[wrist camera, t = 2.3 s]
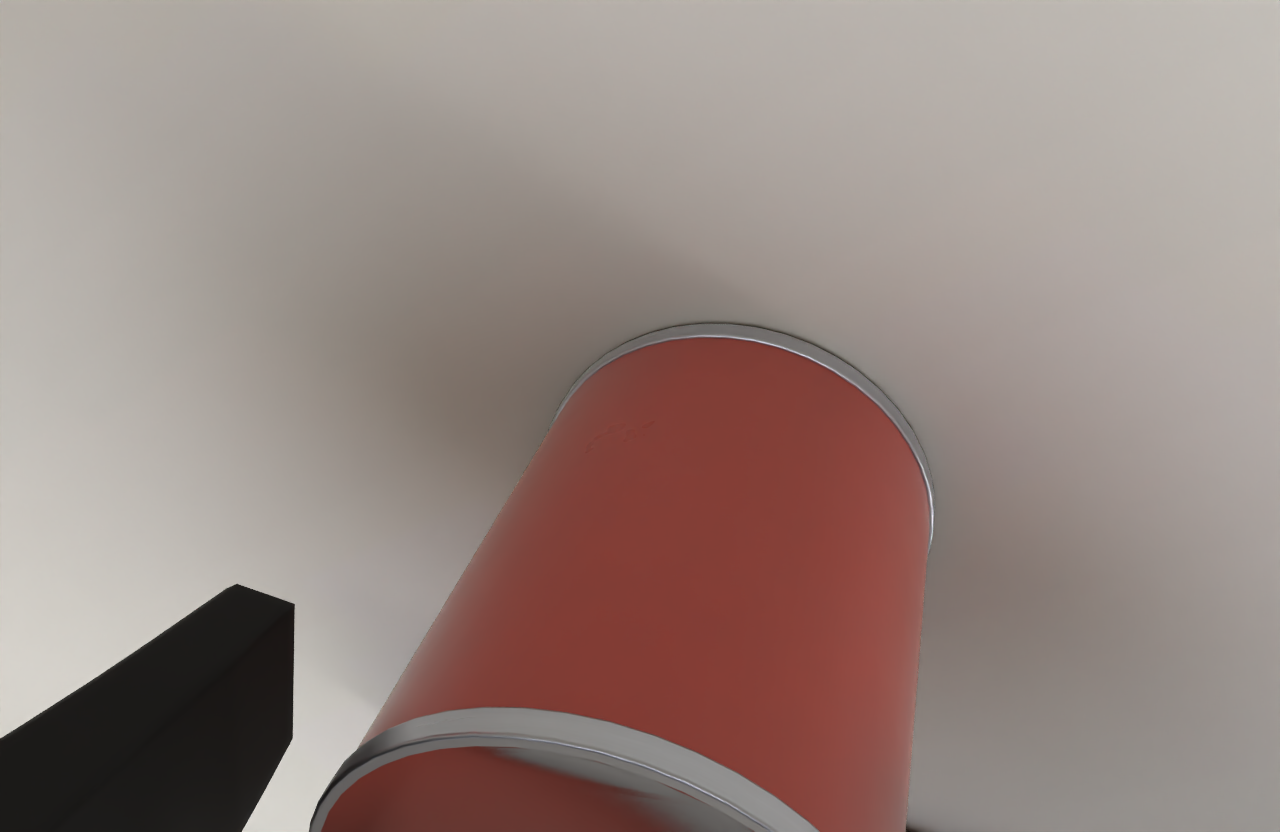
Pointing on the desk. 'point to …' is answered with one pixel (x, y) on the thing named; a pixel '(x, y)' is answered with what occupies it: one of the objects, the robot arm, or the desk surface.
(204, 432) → the desk surface
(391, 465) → the desk surface
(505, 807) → the tin can
